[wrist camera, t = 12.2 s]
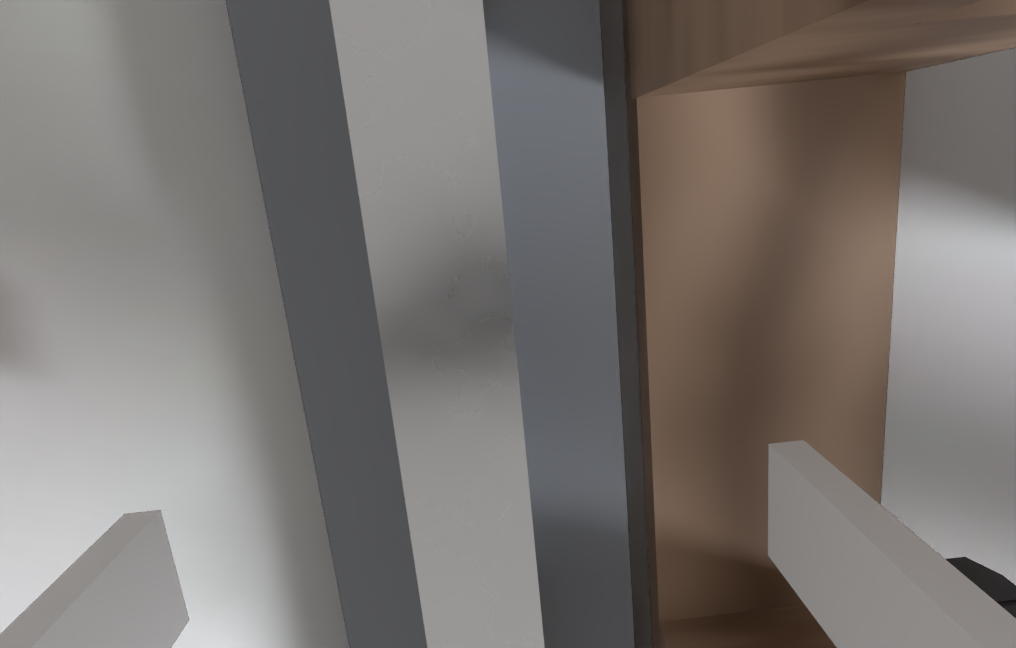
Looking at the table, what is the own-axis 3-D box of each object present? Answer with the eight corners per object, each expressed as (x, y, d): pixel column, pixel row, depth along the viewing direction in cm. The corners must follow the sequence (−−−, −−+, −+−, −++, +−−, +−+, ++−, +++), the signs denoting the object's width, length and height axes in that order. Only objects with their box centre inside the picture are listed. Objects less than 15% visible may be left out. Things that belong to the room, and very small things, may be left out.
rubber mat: (581, -117, 18) (591, -142, 16) (631, 729, 25) (641, 764, 24) (227, -86, 17) (205, -109, 16) (384, 760, 25) (378, 797, 23)
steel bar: (466, -89, 16) (463, -195, 12) (549, 754, 23) (569, 908, 18) (352, -78, 16) (302, -182, 11) (469, 764, 23) (469, 921, 18)
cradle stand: (887, -67, 18) (2037, -715, 5) (851, 661, 25) (1303, 1252, 11) (620, -42, 18) (1048, -651, 5) (654, 686, 25) (874, 1319, 11)
